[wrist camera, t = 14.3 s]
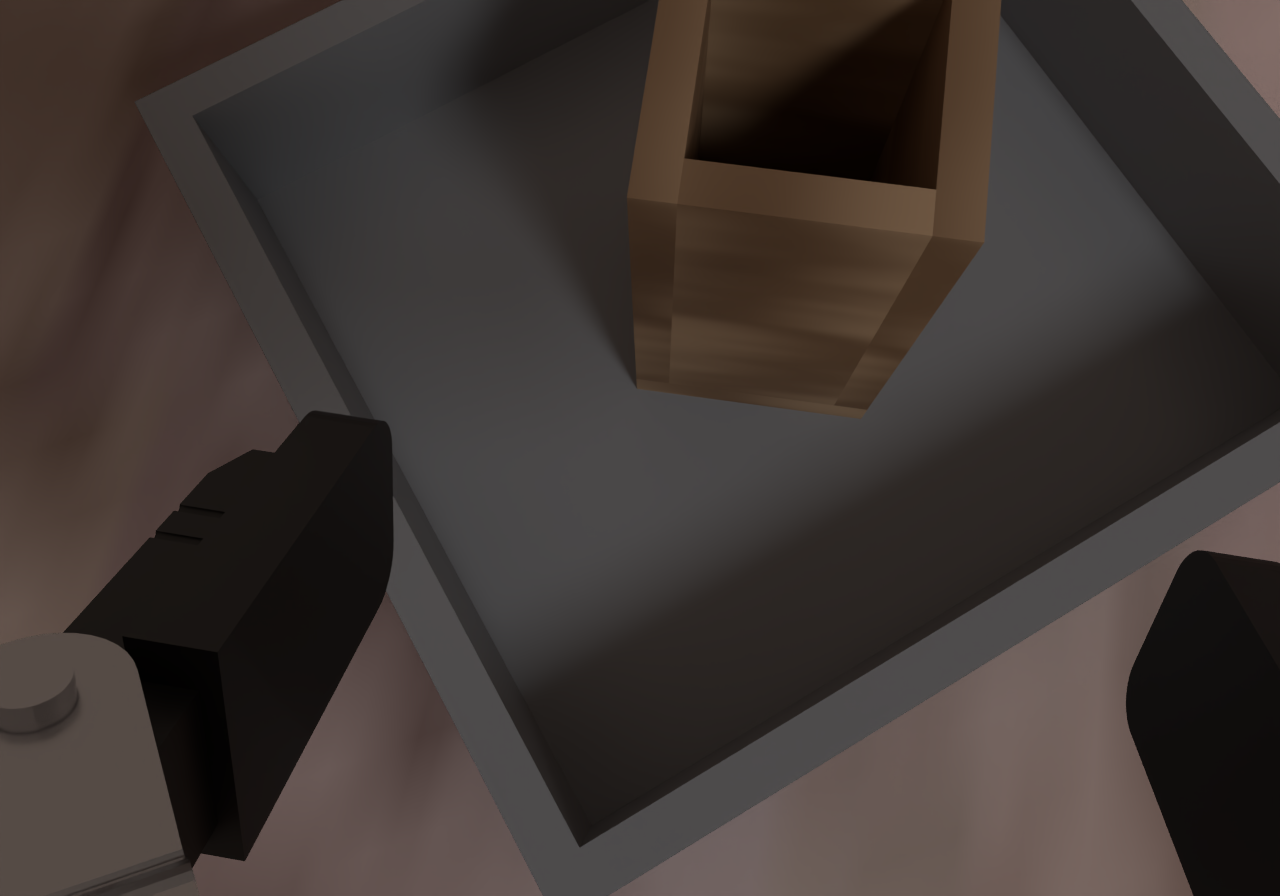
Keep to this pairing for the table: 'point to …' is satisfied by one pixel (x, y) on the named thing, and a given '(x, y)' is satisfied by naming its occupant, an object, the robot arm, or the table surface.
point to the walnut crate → (805, 192)
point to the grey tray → (723, 430)
